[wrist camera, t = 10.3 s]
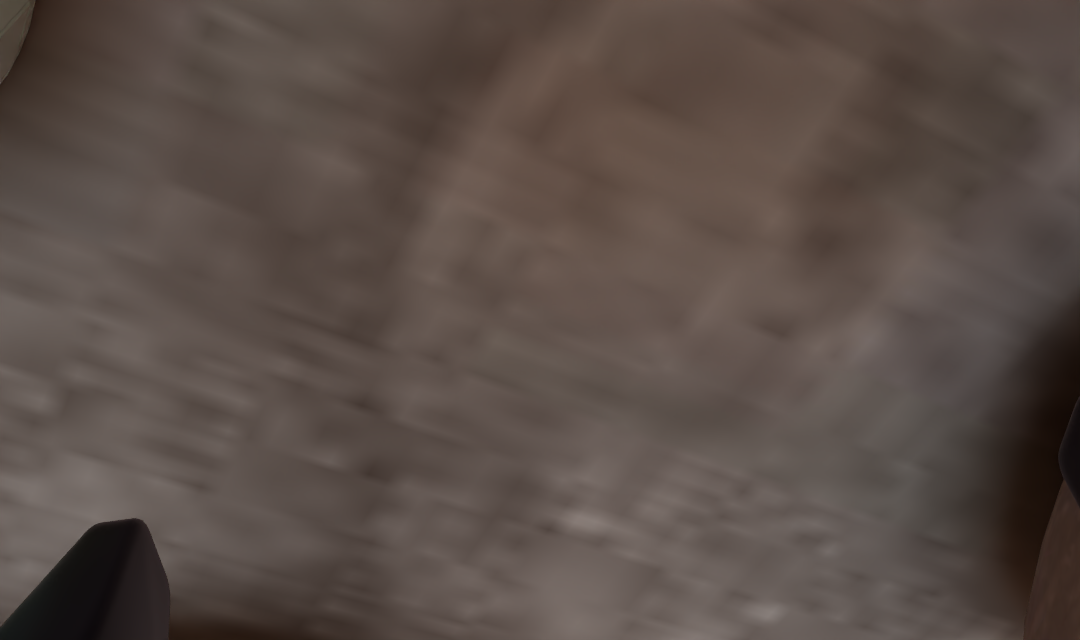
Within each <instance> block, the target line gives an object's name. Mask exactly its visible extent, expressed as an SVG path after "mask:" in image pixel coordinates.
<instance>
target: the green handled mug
mask: <svg viewBox="0 0 1080 640" xmlns="http://www.w3.org/2000/svg"><path fill="white" fill-rule="evenodd" d="M34 4H35V0H0V84H1V83H2V82H3V80H4V79H5V78H6V77H7V75H8V73H9V71H10V69H11V68H12V65H13V63H14V61H15V60H16V58H17V56H18V55H19V53H20V50H21V48H22V45H23V43H24V40H25V37H26V35H27V32H28V30H29V27H30V23H31V18H32V13H33V9H34Z"/></svg>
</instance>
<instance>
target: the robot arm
mask: <svg viewBox="0 0 1080 640" xmlns="http://www.w3.org/2000/svg"><path fill="white" fill-rule="evenodd" d="M1058 459H1059V466H1060V470H1061V473H1062V475H1063V478H1064V480H1065V482H1066V484H1067V486H1068V488H1069V489H1070V491H1071V493H1072V495H1073V497H1074V499H1075V501H1076V503H1077V505H1078V507H1079V509H1080V397H1079V398H1078V400H1077V402H1076V404H1075V407H1074V410H1073V413H1072V415H1071V418H1070V421H1069V424H1068V426H1067V429H1066V432H1065V435H1064V437H1063V440H1062V443H1061V446H1060V449H1059V457H1058ZM169 617H170V590H169V584H168V579H167V576H166V573H165V571H164V568H163V565H162V563H161V560H160V557H159V555H158V552H157V550H156V547H155V544H154V542H153V539H152V536H151V534H150V531H149V529H148V527H147V525H146V524H145V523H144V522H143V521H142V520H140V519H136V518H132V519H125V520H118V521H110V522H103V523H98V524H96V525H94V526H92V527H91V528H90V529H88V530H87V531H86V532H85V534H84V535H83V536H82V537H81V538H80V539H79V540H78V541H77V542H76V544H75V545H74V546H73V547H72V548H71V549H70V550H69V551H68V552H67V554H66V555H65V556H64V557H63V558H62V559H61V560H60V561H59V562H58V564H57V565H56V566H55V567H54V568H53V569H52V570H51V571H50V573H49V574H48V575H47V576H46V577H45V578H44V579H43V580H42V581H41V583H40V584H39V585H38V586H37V587H36V588H35V589H34V590H33V591H32V593H31V594H30V595H29V596H28V597H27V598H26V599H25V600H24V601H23V603H22V604H21V605H20V606H19V607H18V608H17V609H16V610H15V611H14V613H13V614H12V615H11V616H10V617H9V618H8V619H7V620H6V622H5V623H4V624H3V625H2V626H1V627H0V640H168V634H169Z"/></svg>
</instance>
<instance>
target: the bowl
mask: <svg viewBox="0 0 1080 640" xmlns="http://www.w3.org/2000/svg"><path fill="white" fill-rule="evenodd" d="M1024 640H1080V509H1079V507H1078V505H1077V503H1076V501H1075V499H1074V497H1073V495H1072V493H1071V491H1070V489H1069V488H1068V486H1067V484H1066V482H1065V480H1063V483H1062V485H1061V488H1060V491H1059V494H1058V497H1057V500H1056V503H1055V506H1054V509H1053V512H1052V514H1051V517H1050V520H1049V523H1048V526H1047V529H1046V532H1045V535H1044V539H1043V542H1042V545H1041V550H1040V554H1039V559H1038V563H1037V568H1036V572H1035V577H1034V581H1033V586H1032V590H1031V595H1030V599H1029V604H1028V608H1027V613H1026V617H1025V625H1024Z"/></svg>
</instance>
